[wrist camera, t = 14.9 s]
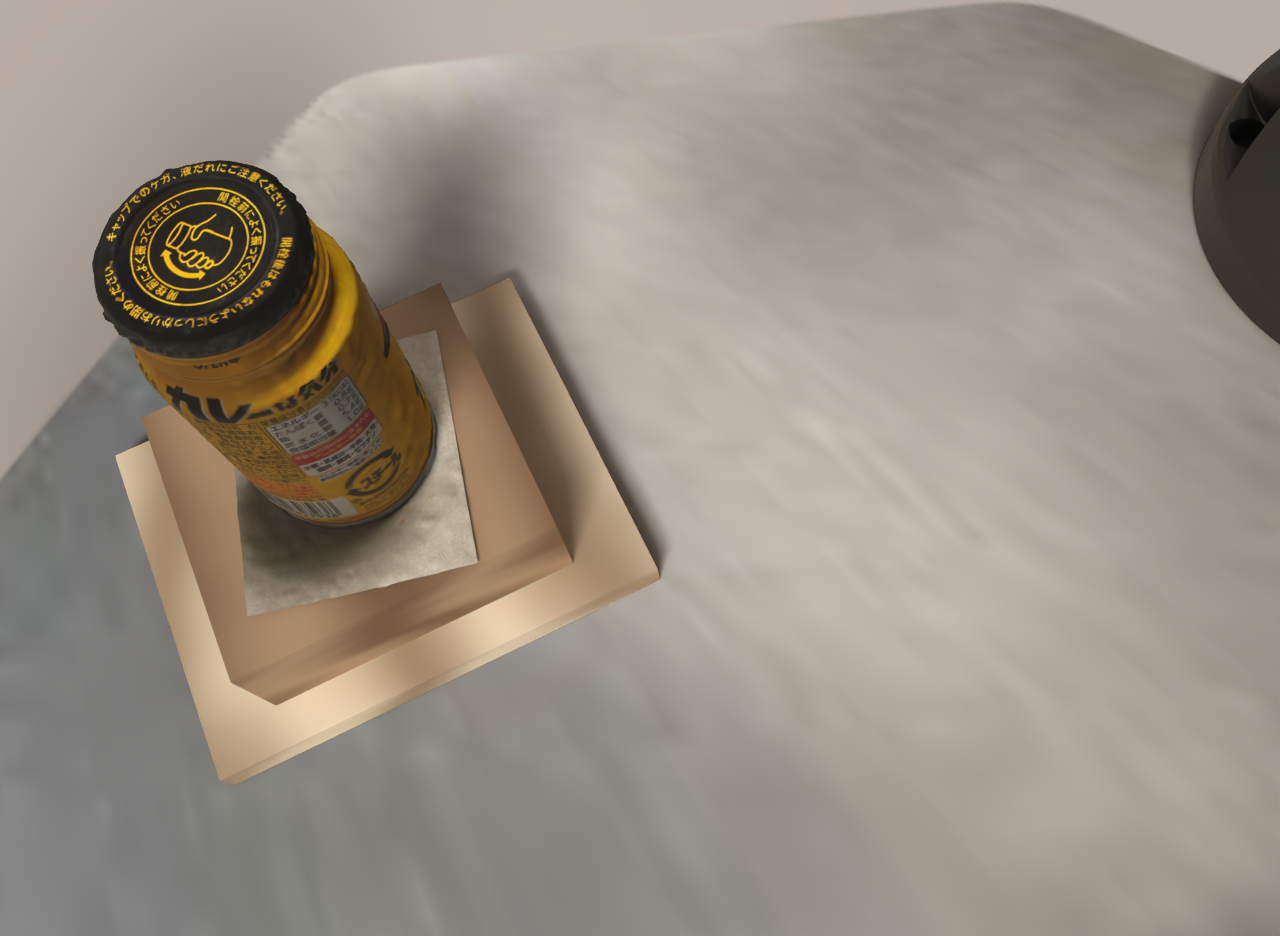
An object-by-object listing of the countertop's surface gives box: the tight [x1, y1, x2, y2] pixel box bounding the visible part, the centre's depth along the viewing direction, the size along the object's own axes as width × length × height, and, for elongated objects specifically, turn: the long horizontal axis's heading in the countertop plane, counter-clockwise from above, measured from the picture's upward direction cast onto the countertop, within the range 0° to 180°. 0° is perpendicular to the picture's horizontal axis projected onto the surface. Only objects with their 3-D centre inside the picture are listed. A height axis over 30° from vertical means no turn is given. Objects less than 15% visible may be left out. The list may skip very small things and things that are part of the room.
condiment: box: [92, 160, 478, 616], centre depth 33 cm, size 7×8×12 cm
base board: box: [115, 278, 660, 785], centre depth 41 cm, size 16×13×5 cm
